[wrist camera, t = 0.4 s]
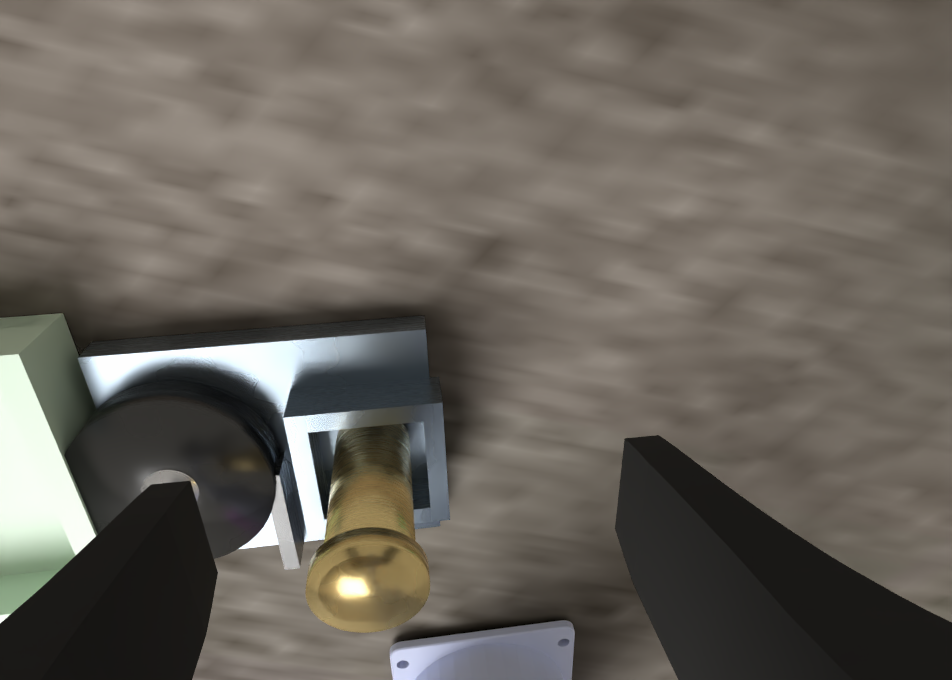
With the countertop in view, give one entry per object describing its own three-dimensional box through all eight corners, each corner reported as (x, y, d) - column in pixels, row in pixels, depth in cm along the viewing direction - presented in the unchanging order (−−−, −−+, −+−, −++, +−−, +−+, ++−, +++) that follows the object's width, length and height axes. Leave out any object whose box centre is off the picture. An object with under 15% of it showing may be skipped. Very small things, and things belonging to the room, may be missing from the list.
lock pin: (421, 473, 21) (433, 624, 16) (333, 482, 21) (315, 639, 16) (415, 400, 20) (426, 538, 15) (320, 409, 20) (296, 553, 14)
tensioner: (446, 506, 23) (452, 556, 21) (128, 541, 22) (100, 598, 20) (433, 314, 20) (439, 352, 18) (51, 345, 19) (6, 389, 16)
